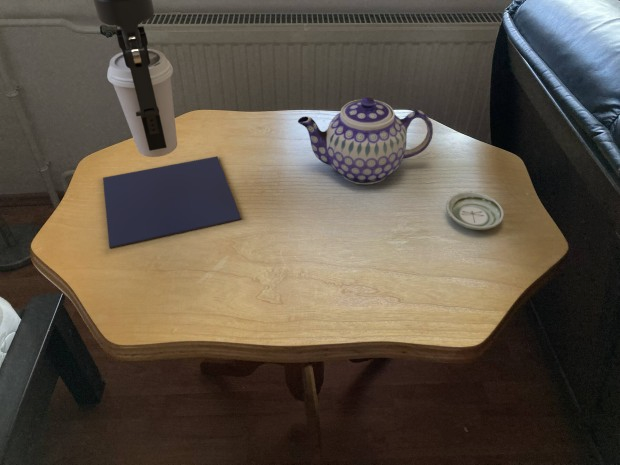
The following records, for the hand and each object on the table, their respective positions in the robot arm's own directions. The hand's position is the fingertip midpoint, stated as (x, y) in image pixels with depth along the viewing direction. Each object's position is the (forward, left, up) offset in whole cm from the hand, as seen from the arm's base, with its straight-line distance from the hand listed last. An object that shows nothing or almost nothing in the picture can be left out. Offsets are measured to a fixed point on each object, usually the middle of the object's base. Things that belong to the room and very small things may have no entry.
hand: (154, 135), depth 84 cm
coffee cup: (0, 0, -2) cm, 2 cm away
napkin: (0, 0, -13) cm, 13 cm away
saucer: (+49, -23, -13) cm, 56 cm away
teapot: (+37, -3, -13) cm, 39 cm away
